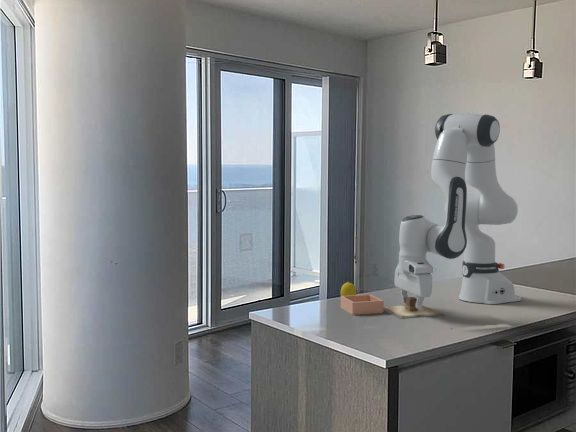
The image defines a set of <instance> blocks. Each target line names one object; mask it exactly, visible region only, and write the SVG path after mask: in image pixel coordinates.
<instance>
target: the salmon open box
mask: <svg viewBox="0 0 576 432" xmlns="http://www.w3.org/2000/svg"><path fill="white" fill-rule="evenodd" d="M384 304H385V303H384V300H383V299H381V298H379V297H377V296H375V295H373V294H371V293H369V294H356V295H351V296H341V295H340V309H342V310H344V311H345V312H347V313H348V314H349V315H352V316H357V315H369V314H371V315H372V314H383V313H384V310H383V309H384V307H385V306H384Z"/></svg>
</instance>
